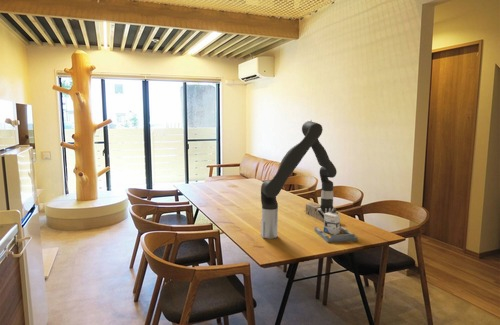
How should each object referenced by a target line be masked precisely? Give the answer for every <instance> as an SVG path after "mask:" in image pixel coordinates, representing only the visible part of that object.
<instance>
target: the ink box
mask: <svg viewBox="0 0 500 325" xmlns="http://www.w3.org/2000/svg"><path fill="white" fill-rule="evenodd" d="M340 224H341V215H340V214H339V213H338V214H335V213H331V212H327V213H325V214H324V222H323V232H324V233H325V234H326V233H327V234H330V235H340V230H339V228H340V226H341V225H340Z"/></svg>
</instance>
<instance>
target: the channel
mask: <svg viewBox="0 0 500 325" xmlns="http://www.w3.org/2000/svg"><path fill="white" fill-rule="evenodd" d="M313 230H314V232H315V233H317V235H319V237H321V238H322V239H323V240H324V241H325V242H326V243H346V242H358V240H359V239H358V238H359V237H358V236H357V235H355V233H353V232H351V231H349V230H348V229H347V228H346V227H344V226H342V225H340V228H339V232H341V233H342V234H341V233H340V234H336V235H333V234H330V237H329V236H328V235H327V234H326V232H324V231H323V230H322V229H320V228H319V227H317V226H316V227H314V229H313Z"/></svg>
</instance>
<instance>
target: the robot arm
mask: <svg viewBox="0 0 500 325" xmlns="http://www.w3.org/2000/svg"><path fill="white" fill-rule="evenodd" d="M323 131H324V130H323V125H321V124H320V123H318V122H314V121H305V122H304V123H303V124H302V125H301V132H302V135H303V136H304V137H303V138H302V140H301V141H300V142H299V143H297V144H296V145H294V146H292V147H291V148H290V149H288V151H287V152H286V154H285V155H284V156H283V157H282V159H281V162H280V164H279V167H278V170H277V172H276V174H275V175H274V176H273V177H272V179H266V180H264V181H263V182H262V184H261V186H260V203H261V219H260V220H261V222H260V236H261V238H262V239H269V240H270V239H271V240H273V239H276V238H278V227H279V226H278V221H279V220H278V219H279V218H278V217H279V216H278V215H279V214H278V213H279V211H278V209H279V208H278V207H279V203H278V200H277V196H278V195H279V194H280V193H281V191H282V189H283V187H284V186H285V184H286V183H287V180H288V179H289V178H290V177H291V175H292V173H293V172H294V171H295V169H296V168H297V167H298V165H299V164H300V162H301V161H302V159H303V158H304V157H305V155H306V154H307V152H308V151H309V150H310V149H312V152H313V153H314V156H315V157H316V158H315V159H316V160H317V164H318V165H319V166H320V168H319V177H320V181H321V193H320V205H321V206H320V208H319V209H317V212H318V213H319V214H320V215H321V217H323V218H324V214H325V213H327V212H331V213H335V212H336V211H337V209H336V208H334V182H333V181H332V180H330V179H331V178H335V177H336V175H337V168H336V166H335V164H333V162H332V160H330V157H329V155H328V153H327V150H326V149H325V147H324V145H322V143H321V142H320V140H319V138H320V137H321V136H322V133H323ZM329 178H330V179H329ZM321 210H322V211H323V214H322V213H321Z"/></svg>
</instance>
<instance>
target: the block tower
mask: <svg viewBox="0 0 500 325" xmlns="http://www.w3.org/2000/svg"><path fill="white" fill-rule="evenodd" d="M320 206H321V204H319V203H315V202H307V203H305V215H308V216H310V217H312V218H315V219H316V220H319V221H321V222H323V223H324V218H323V217H321V215H320V214H319V213H318V212H317V209H319V208H320ZM321 213H322V214H323V211H322V210H321ZM335 214H339V211H337V210H336V212H335Z"/></svg>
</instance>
